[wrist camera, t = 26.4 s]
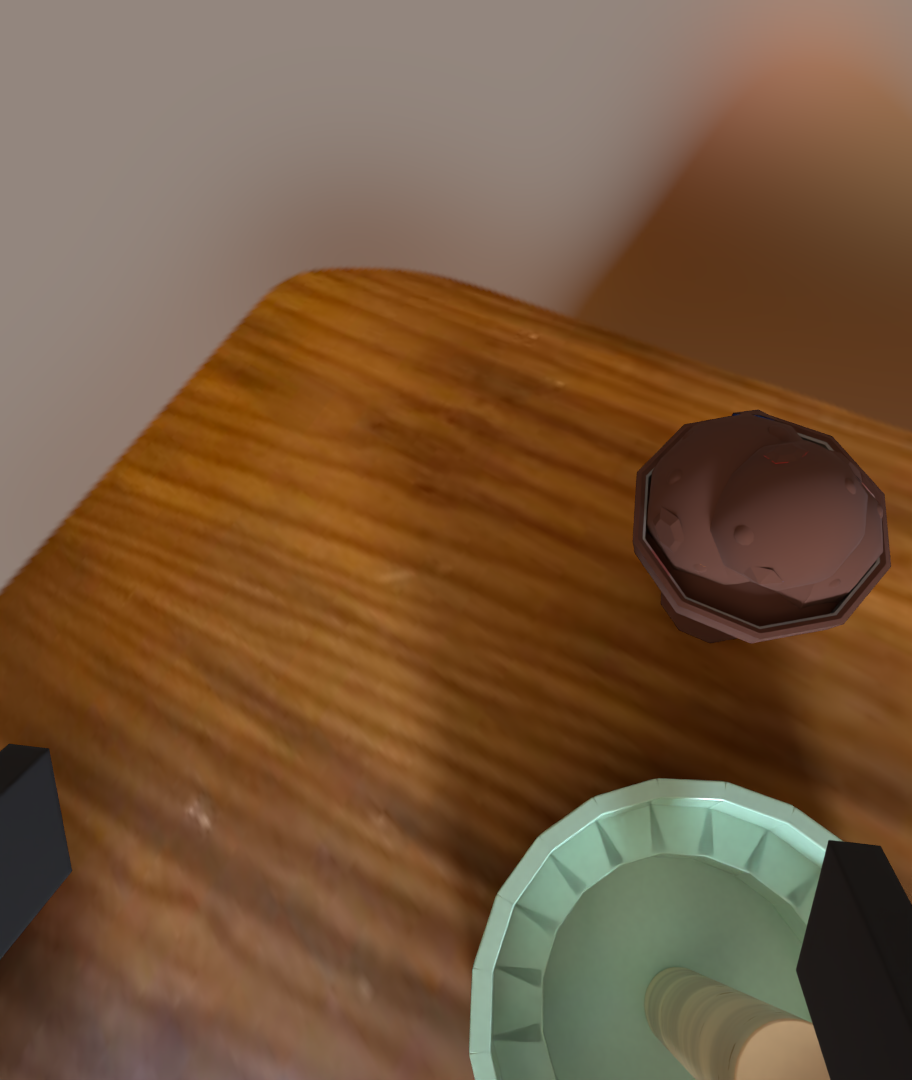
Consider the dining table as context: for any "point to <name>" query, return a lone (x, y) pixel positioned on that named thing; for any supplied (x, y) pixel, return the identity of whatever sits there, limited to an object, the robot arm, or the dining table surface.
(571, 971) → the mixing bowl
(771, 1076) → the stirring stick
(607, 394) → the dining table surface
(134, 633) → the dining table surface
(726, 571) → the ice cream bowl
